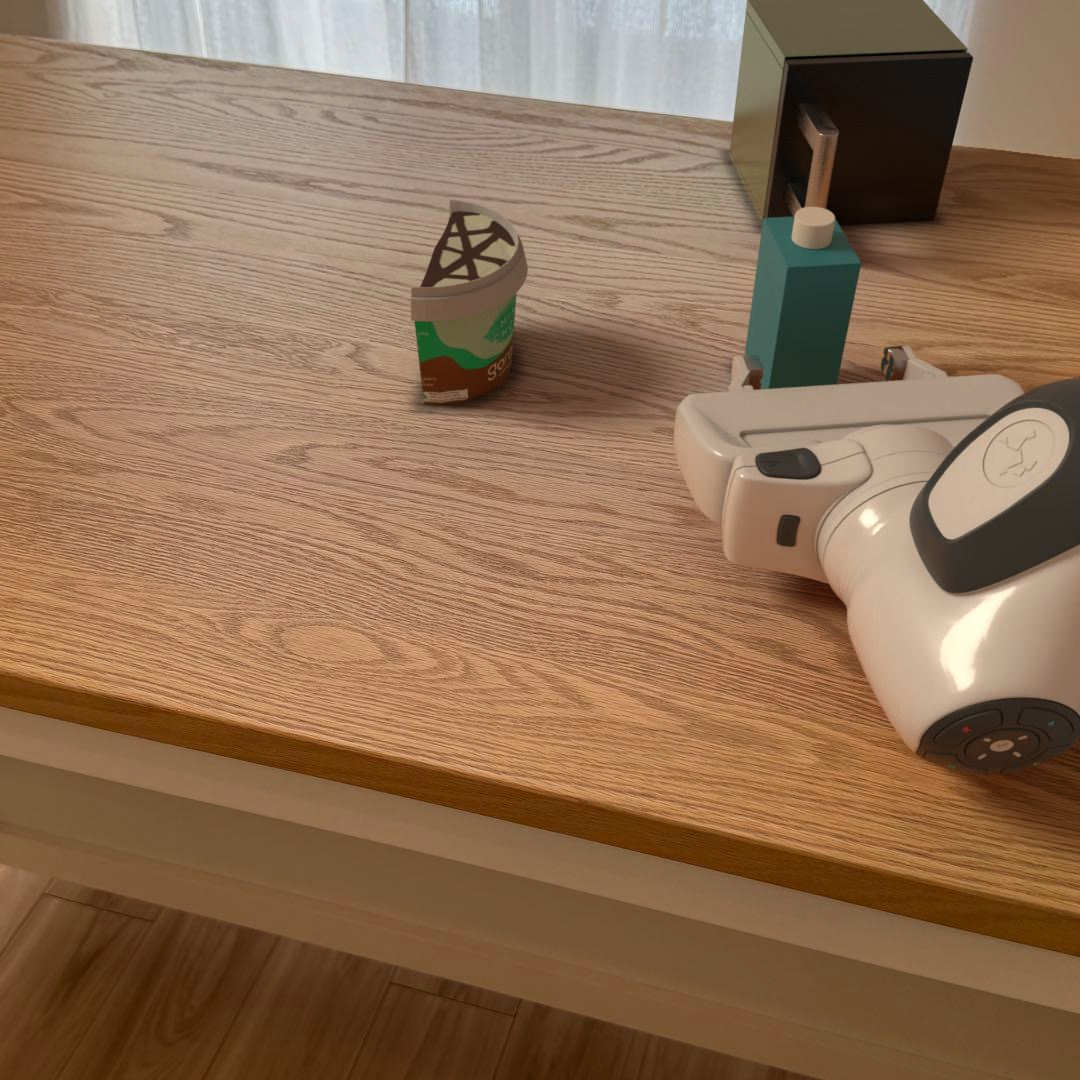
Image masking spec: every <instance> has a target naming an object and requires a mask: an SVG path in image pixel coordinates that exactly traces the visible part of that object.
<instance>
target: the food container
mask: <svg viewBox="0 0 1080 1080" xmlns="http://www.w3.org/2000/svg"><path fill="white" fill-rule="evenodd" d="M431 254H432V255H431V258H430V261H429V263H428V266H427V269H426V271H425V274H424V276H423V279H422V281H421V284H420V286H411V287H410V291H411V298H410V321H411V322H414V329H415V338H416V339H415V340H416V345H417V347H416V348H417V354H418V366H419V374H420V381H421V382H420V383H421V391H422V399H423V400H422V401H423V405H426V406H427V405H428V406H429V405H430V406H446V405H447V406H448V405H454V404H463V403H467V402H470V401H474V400H476V399H479V398H482V397H485V396H487V395H488V394H490V393H491V392H493V391H495V390H496V389H498V388H499V387H501V386H502V384H503V383H504V382H505V381H506V380H507V379H508V378H509V375H510V373H511V370H512V363H513V348H514V333H515V320H516V306H517V305H516V304H517V293H518V292H519V290H521V288H522V287H523V286H524V284H525V281H526V280H527V277H528V272H529V269H528V261H527V256H526V253H525V248H524V244H523V242H522V239H521V237H520V235H519V233H518V232H517V230H516V228H515V226H514V225H513V224H512V222H511V221H510V220H509V219H507V218H506V216H504V215H503V214H501V213H499V212H497V211H495V209H491V208H489V207H487V206H484V205H481V204H477V203H474V202H469V201H466V200H465V201H464V200H457V199H449V217H448V221H447V224H446V227H445V229H444V231H443V233H442V235H441V236H440V238H439V239H438V242H436V244H435V246H434V248H433V251H432V253H431Z"/></svg>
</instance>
